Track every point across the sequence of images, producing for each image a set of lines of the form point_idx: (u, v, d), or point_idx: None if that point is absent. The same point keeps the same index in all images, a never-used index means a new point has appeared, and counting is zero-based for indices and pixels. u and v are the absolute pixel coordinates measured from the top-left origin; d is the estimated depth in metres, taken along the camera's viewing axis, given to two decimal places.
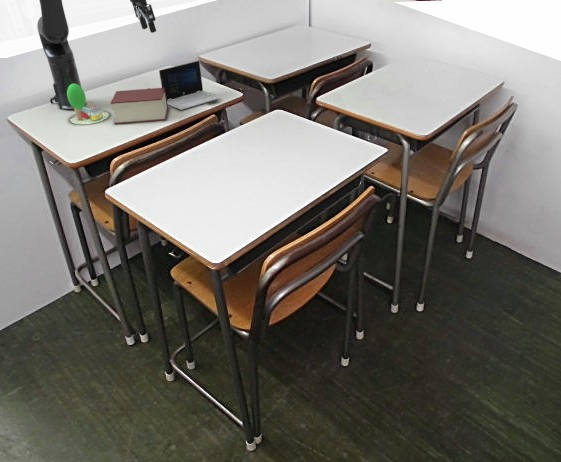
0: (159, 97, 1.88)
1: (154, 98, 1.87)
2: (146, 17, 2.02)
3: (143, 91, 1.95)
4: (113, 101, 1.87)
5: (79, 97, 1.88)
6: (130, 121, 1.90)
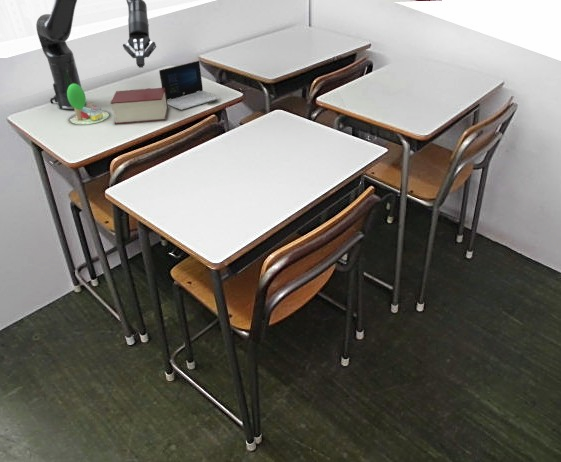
0: (159, 97, 1.88)
1: (154, 98, 1.87)
2: (143, 51, 2.02)
3: (143, 91, 1.95)
4: (113, 101, 1.87)
5: (79, 97, 1.88)
6: (130, 121, 1.90)
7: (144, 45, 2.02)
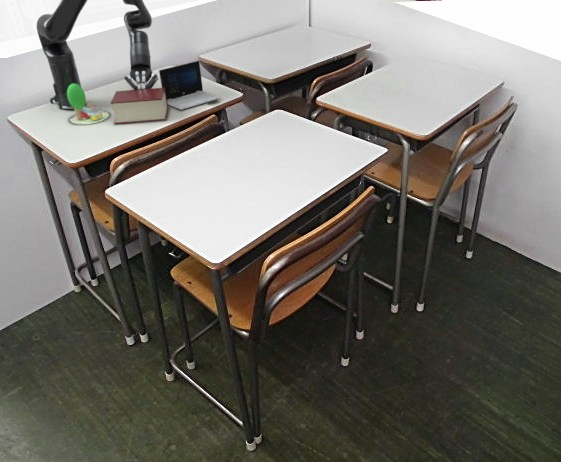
0: (159, 97, 1.88)
1: (154, 98, 1.87)
2: (145, 83, 2.00)
3: (143, 91, 1.95)
4: (113, 101, 1.87)
5: (79, 97, 1.88)
6: (130, 121, 1.90)
7: (146, 78, 2.00)
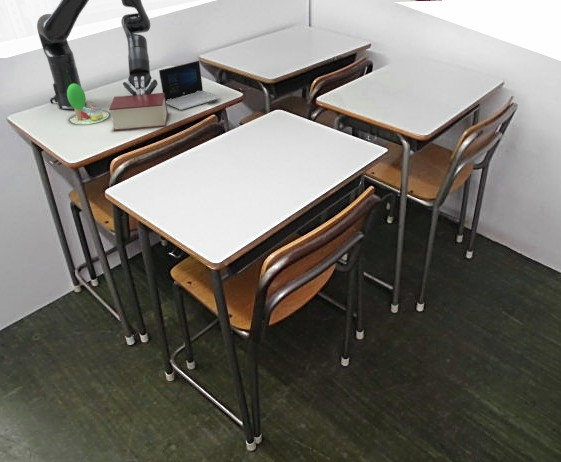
0: (159, 103, 1.83)
1: (154, 104, 1.82)
2: (144, 89, 1.94)
3: (142, 97, 1.89)
4: (112, 107, 1.81)
5: (79, 97, 1.88)
6: (129, 128, 1.85)
7: (145, 83, 1.95)
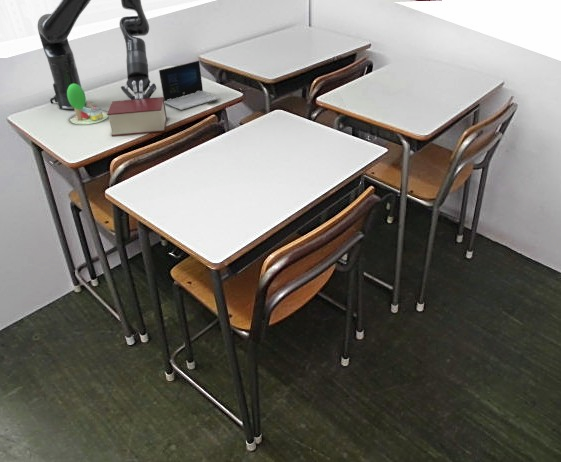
0: (158, 107, 1.79)
1: (153, 109, 1.78)
2: (143, 93, 1.90)
3: (141, 101, 1.85)
4: (110, 112, 1.77)
5: (79, 97, 1.88)
6: (128, 133, 1.81)
7: (144, 87, 1.91)
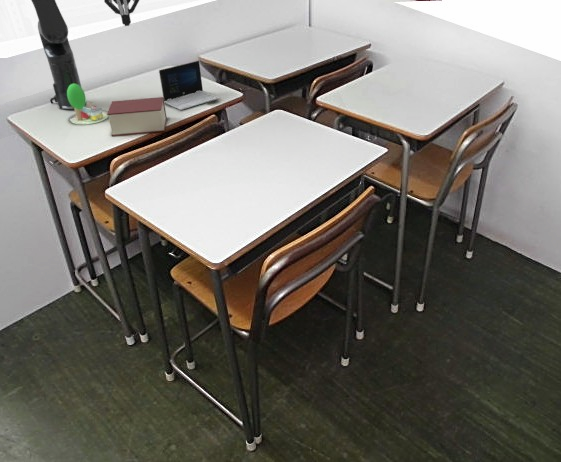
0: (158, 107, 1.79)
1: (153, 109, 1.78)
2: (127, 9, 1.89)
3: (141, 101, 1.85)
4: (109, 112, 1.77)
5: (79, 97, 1.88)
6: (128, 133, 1.80)
7: (128, 1, 1.88)
